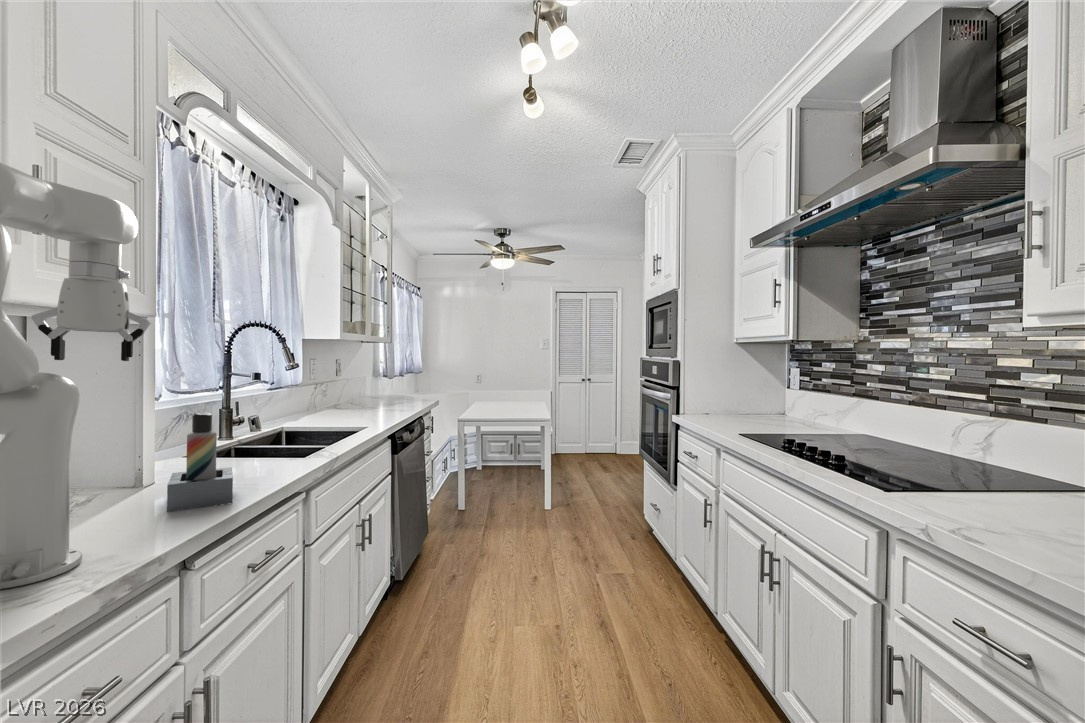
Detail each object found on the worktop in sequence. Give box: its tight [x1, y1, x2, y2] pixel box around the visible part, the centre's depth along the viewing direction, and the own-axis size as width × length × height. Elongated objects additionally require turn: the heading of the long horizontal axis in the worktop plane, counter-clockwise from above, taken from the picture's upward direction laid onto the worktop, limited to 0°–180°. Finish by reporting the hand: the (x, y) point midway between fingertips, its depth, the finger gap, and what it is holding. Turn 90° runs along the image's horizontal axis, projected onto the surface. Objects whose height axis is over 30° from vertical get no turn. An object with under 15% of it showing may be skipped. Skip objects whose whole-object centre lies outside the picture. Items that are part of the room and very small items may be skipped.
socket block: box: [166, 467, 234, 513], centre depth 112 cm, size 12×12×6 cm
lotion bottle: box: [185, 411, 218, 481], centre depth 111 cm, size 6×6×20 cm
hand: (93, 360), depth 93 cm, fingers open, 9 cm apart
